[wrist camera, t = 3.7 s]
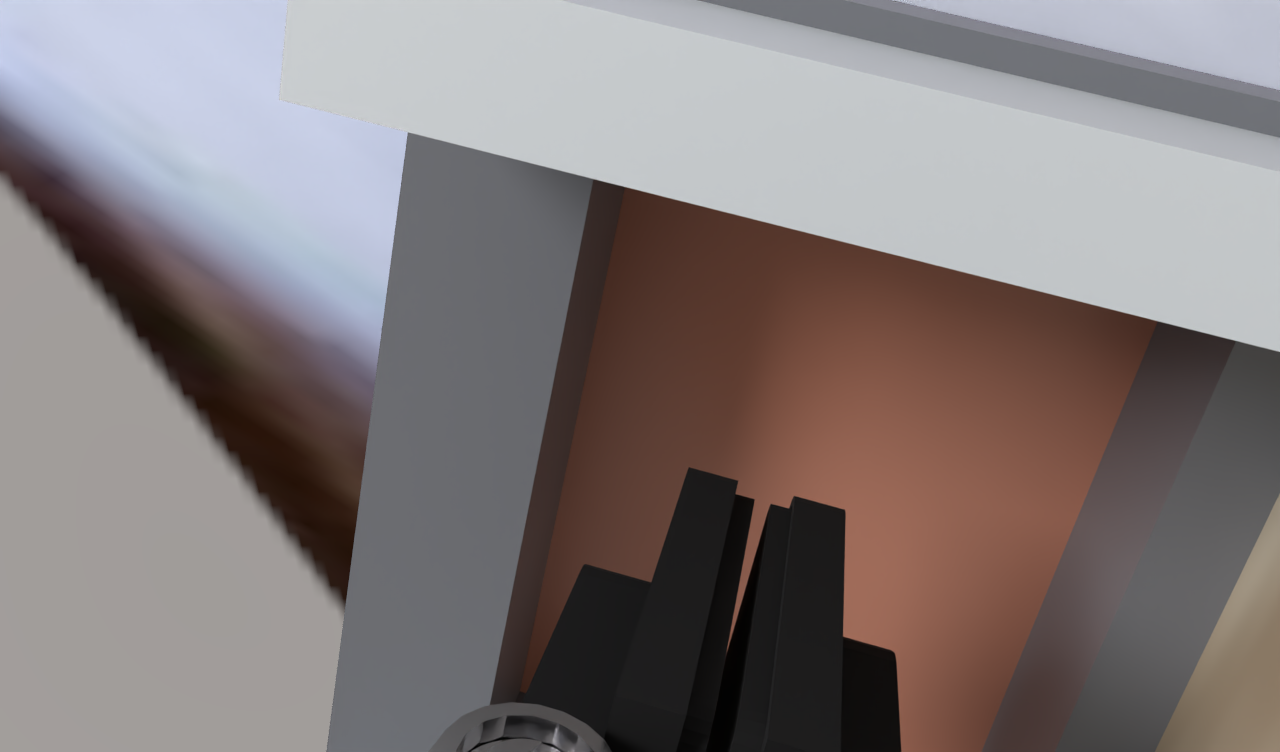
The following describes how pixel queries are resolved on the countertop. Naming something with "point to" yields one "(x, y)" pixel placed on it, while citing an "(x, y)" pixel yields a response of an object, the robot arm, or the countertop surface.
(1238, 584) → the block
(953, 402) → the gray tray
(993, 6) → the countertop surface
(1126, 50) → the countertop surface
